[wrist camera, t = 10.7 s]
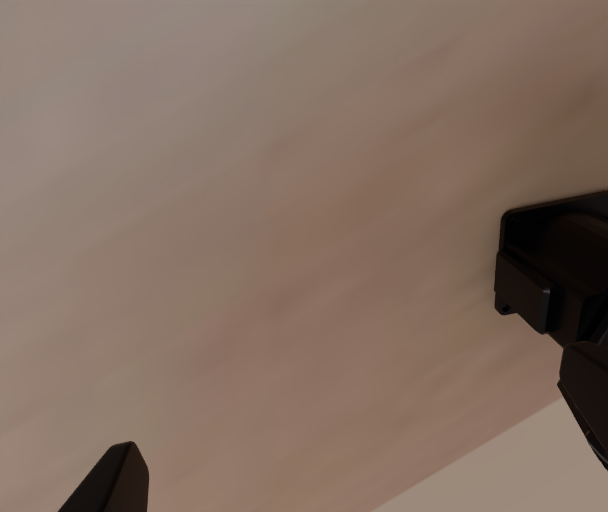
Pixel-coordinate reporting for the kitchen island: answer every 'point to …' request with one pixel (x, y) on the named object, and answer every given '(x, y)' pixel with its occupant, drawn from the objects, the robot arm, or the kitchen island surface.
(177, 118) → the kitchen island surface
